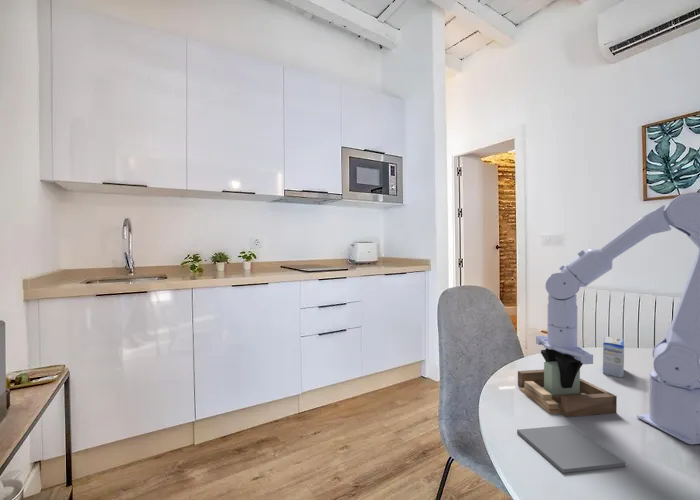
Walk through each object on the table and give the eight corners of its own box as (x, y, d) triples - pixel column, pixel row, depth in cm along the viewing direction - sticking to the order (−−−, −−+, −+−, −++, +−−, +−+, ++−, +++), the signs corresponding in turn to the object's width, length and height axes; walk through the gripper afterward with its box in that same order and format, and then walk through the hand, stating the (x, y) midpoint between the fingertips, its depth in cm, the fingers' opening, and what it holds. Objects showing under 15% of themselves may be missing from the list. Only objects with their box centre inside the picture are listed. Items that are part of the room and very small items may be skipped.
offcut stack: (561, 414, 69) (561, 400, 69) (550, 415, 69) (550, 400, 69) (530, 391, 80) (530, 379, 80) (520, 391, 80) (520, 379, 80)
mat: (625, 466, 52) (625, 462, 52) (562, 473, 51) (562, 469, 51) (570, 428, 63) (570, 425, 63) (517, 432, 62) (517, 429, 62)
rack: (616, 412, 69) (616, 396, 69) (566, 417, 67) (566, 399, 67) (559, 382, 84) (559, 368, 84) (517, 385, 83) (517, 371, 83)
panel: (579, 399, 75) (580, 364, 75) (551, 401, 74) (551, 365, 74) (571, 394, 77) (571, 360, 77) (543, 396, 76) (544, 361, 76)
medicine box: (603, 365, 96) (604, 335, 96) (623, 369, 93) (624, 338, 93) (602, 374, 90) (602, 342, 89) (623, 378, 87) (624, 345, 87)
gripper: (524, 318, 82) (524, 373, 82) (571, 334, 68) (571, 400, 68) (550, 317, 83) (550, 371, 83) (602, 333, 69) (601, 398, 69)
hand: (561, 384), depth 76 cm, fingers closed on panel, 2 cm apart
